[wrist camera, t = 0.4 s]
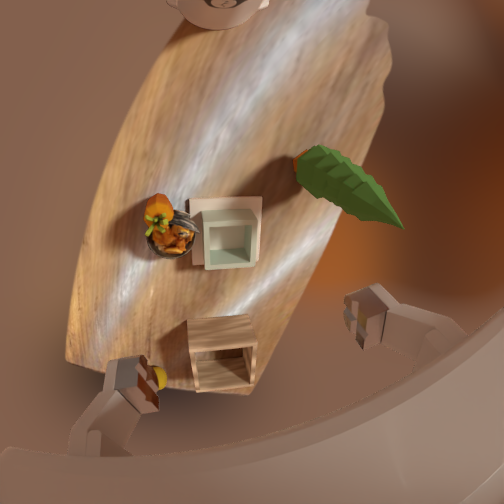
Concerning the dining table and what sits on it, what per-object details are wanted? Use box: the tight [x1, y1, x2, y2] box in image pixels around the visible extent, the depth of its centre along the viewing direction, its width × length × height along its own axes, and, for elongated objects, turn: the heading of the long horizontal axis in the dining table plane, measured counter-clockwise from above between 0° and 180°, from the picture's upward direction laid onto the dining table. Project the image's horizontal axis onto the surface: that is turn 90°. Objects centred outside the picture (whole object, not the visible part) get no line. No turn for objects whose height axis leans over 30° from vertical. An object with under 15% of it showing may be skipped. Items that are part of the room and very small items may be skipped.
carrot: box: [143, 193, 174, 236], centre depth 44 cm, size 5×5×15 cm
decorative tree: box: [293, 145, 404, 229], centre depth 40 cm, size 10×9×30 cm
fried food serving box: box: [187, 314, 257, 392], centre depth 66 cm, size 17×15×10 cm
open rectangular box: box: [189, 196, 262, 270], centre depth 53 cm, size 14×14×7 cm
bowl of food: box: [147, 210, 200, 259], centre depth 45 cm, size 9×11×18 cm
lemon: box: [153, 367, 167, 390], centre depth 67 cm, size 6×6×8 cm
